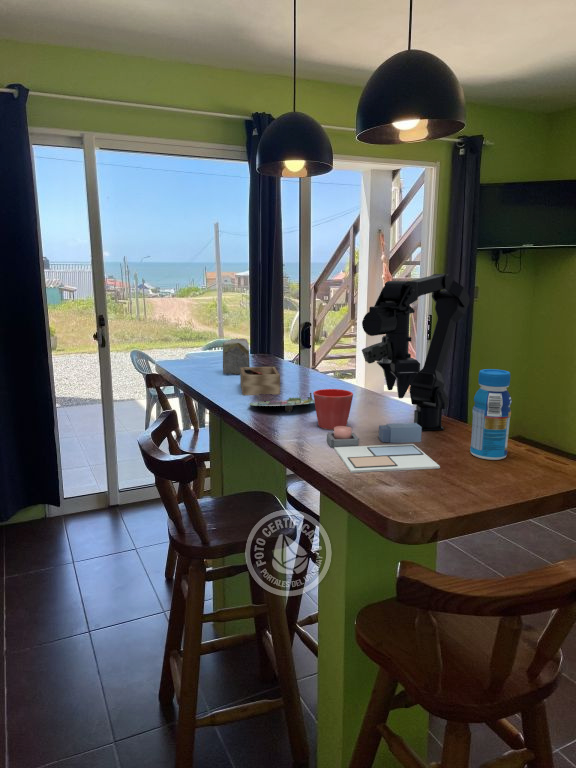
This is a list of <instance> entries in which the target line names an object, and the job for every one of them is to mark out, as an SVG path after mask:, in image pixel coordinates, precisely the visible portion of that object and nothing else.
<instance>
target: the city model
mask: <svg viewBox="0 0 576 768" xmlns="http://www.w3.org/2000/svg"><path fill="white" fill-rule="evenodd" d="M257 399H258V401H254V402H251V403H248V405H249V406H255V407H258V406H259V407H261V406H262V407H264V406H265V407H268V406H269V407H272V406H273V407H276V406H277V407H278V406H279V407H280V406H282V407H283V406H285V409H284V411H285V412H290V413H292V412H293V409H294V407H293V406H297V405H300V406H301V405H309V404H315V401H314V398H313V396H312V392H310V393H309V397H307V398H304V399H302V395H300V396H299V397H296V396H295V397H289V398H288V399H283V400H282V399H281V400H280V401H279V400H275V399H274V400H271V397H268V399H269V400H268V401H266V402H264V401H261V400H260V399H261V398H260V397H258V398H257Z"/></svg>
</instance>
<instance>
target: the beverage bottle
mask: <svg viewBox="0 0 576 768" xmlns="http://www.w3.org/2000/svg"><path fill="white" fill-rule="evenodd" d="M477 383H478V385H479V386H480V387H479V388H478V390H477V391H476V392H475V395H474V397H473V402H474V405H473V407H472V411H471V412H472V420H471V421H472V422H471V423H472V425H471V436H470V437H471V439H470V440H471V441H470V447H469V448H470V449H469V451H470V454H471V455H473V456H474V457H476V458H478V459H483V460H489V461H490V460H491V461H499V460H503V459H506V457H507V455H508V444H509V443H508V442H509V441H508V440H509V432H510V421H511V420H510V419H511V417H512V410H511V405H512V403H513V402H512V401H513V400H512V397H511V395H510V392H509V390H508V389H507V388H509V387H510V385H511V384H510V383H511V372H510V371H508V370H504V369H496V368H495V369H494V368H487V369H480V370H479V372H478V382H477Z"/></svg>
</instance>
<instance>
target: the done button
mask: <svg viewBox="0 0 576 768" xmlns="http://www.w3.org/2000/svg"><path fill="white" fill-rule="evenodd" d="M352 429H353V428H352V427H350V426H347V425H346V426H336V427H334V430H333V432H334V439H351V436H352V433H353V431H352Z"/></svg>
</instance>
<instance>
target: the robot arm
mask: <svg viewBox="0 0 576 768" xmlns="http://www.w3.org/2000/svg"><path fill="white" fill-rule="evenodd" d="M428 294H431V298H432V299H433V301H434V303H435V306H434V310H435V313H436V316H437V321H436V324H435V327H434V331H433V334H432V336H431V340H430V343H429V348H428V350H427V355H426V358H425V360H424V364H423V367H422V368H421V363H420V362H419V360H417V359H415V358H413V357H412V354H411V353H409V343H411V342H412V337H411V336H410V323H411V322H410V321H411V320H410V319H411V318H410V315H411V314H414V313H415V309H414V308H413V307H412V304H413V303H415V302H417V300H418V299H419V297H421V296H424V295H428ZM470 297H471V296H470V295H469V293H468V292H467V290H466V288H465V287H464V286H463V285H461V284H460V283H459V282H457V281H456V280H454V279H453V277H452V276H451V275H450V274H448V273H433V274H431V275H428V276H425V277H421V278H417V279H413V280H410V281H409V280H388V281H387V280H386V282H385V283H384V285H383V287H382V289H381V292H380V293H379V295H378V297H377V300H376V301H375V303H374V305H373V306H370V307H369V310H368V312H367V313H365V315H364V316H363V319H362V320H361V326H362V329H363V331H364V333H365V334H367V336H369V337H370V336H371V337H373V336H374V337H375V336H382V338H381V342H378V343H374V344H372V345H369V346H366V347H365V348H364V347H363V348H362V349H361V353H362V355H363V356H362V357H364V361H365V362H366V363H368V364H373V363H375V362H376V364H377V365H378V367H379V366H380V368H382V370H383V375H384V379H385V383H386V388H387V391H393V388H394V386H395V383H396V389H397V390H396V391H397V398H398V399H404V397H405V395H406V393H407V391H408V389H409V397H410V400H411V401H410V402H411V405H413V406H414V405H416V409H415V410H414V414H413V423H417V424H418V425H420V426H421V427H422V431H443V430H445V429H444V427H443V426H442V421H443V420H442V418H443V410H445V409H447V407H448V406H449V401H450V399H449V397H448V396H447V393H446V392H445V391H444V387H445V381H444V378H443V374H442V373H443V368H444V365H445V363H446V362H445V361H446V357H447V355H448V350H449V347H450V344H451V340H452V338H453V333H454V330H455V327H456V324H457V323H458V322H459V321H460V320H461V319H462V318H463V317H464V316H465V314H466V311H467V310H468V307H469V305H470V301H471V299H470ZM422 431H421V432H422Z"/></svg>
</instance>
